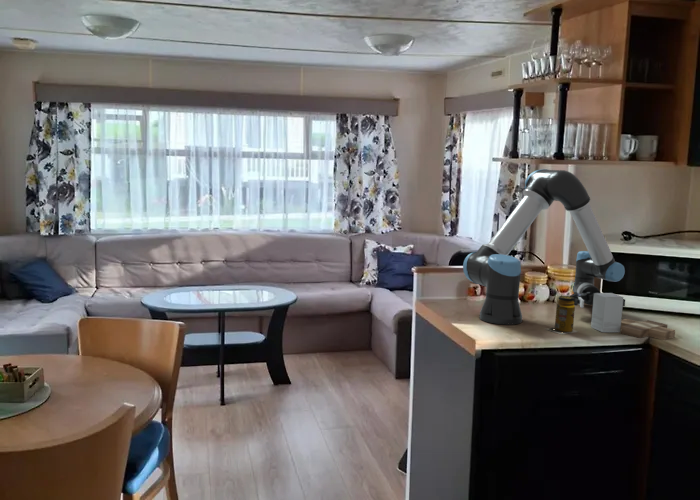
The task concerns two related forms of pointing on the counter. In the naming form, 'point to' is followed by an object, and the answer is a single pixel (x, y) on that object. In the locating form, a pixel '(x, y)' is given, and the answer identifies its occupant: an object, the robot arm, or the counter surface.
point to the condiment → (564, 315)
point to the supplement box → (607, 312)
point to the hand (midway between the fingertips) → (602, 305)
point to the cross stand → (646, 329)
